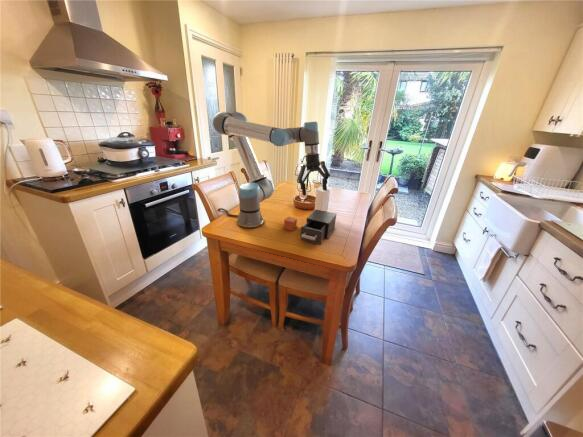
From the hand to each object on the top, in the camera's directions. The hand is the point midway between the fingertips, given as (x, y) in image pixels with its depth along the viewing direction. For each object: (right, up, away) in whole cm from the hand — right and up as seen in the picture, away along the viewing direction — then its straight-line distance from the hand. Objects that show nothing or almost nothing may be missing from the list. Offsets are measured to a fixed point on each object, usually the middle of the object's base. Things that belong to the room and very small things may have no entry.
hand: (314, 192), depth 130 cm
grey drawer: (-1, -25, -5) cm, 26 cm away
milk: (+6, -14, +21) cm, 26 cm away
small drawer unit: (+4, -22, +5) cm, 23 cm away
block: (-14, -20, +7) cm, 25 cm away
